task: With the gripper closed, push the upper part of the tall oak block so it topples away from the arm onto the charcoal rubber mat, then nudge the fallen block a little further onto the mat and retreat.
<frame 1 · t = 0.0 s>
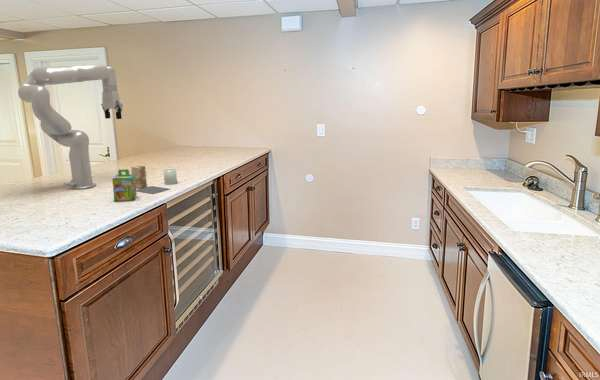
hand: (113, 118, 221), 37 cm above the countertop, tool pointing down, fingers open, 9 cm apart
block: (140, 187, 209), on the countertop
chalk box: (126, 199, 186), on the countertop
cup: (170, 183, 220), on the countertop
mat: (152, 190, 204), on the countertop
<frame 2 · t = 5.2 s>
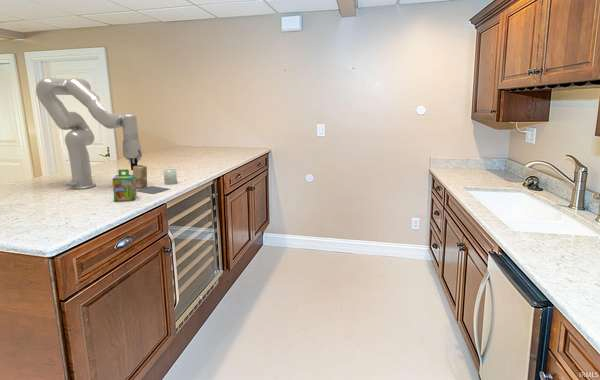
hand: (134, 169, 208), 10 cm above the countertop, tool pointing down, fingers closed
block: (140, 187, 209), on the countertop, tilted 6°
everything else where it was.
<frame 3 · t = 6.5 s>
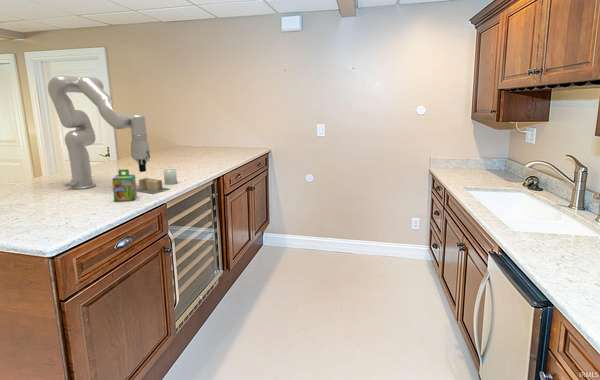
hand: (142, 171, 206), 10 cm above the countertop, tool pointing down, fingers closed
block: (142, 183, 207), point 3 cm above the countertop, tilted 90°, touching mat
everything else where it was.
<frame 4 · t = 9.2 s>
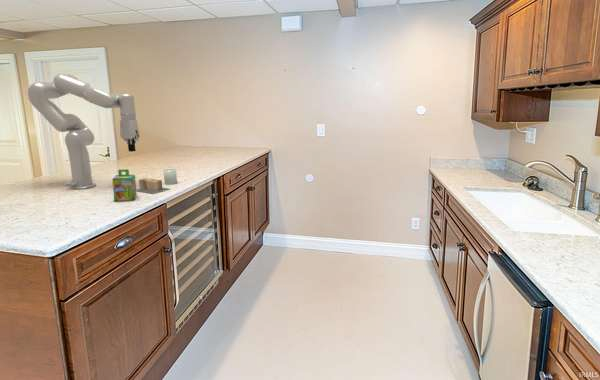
hand: (132, 151, 206), 20 cm above the countertop, tool pointing down, fingers closed
nothing on the countertop moved.
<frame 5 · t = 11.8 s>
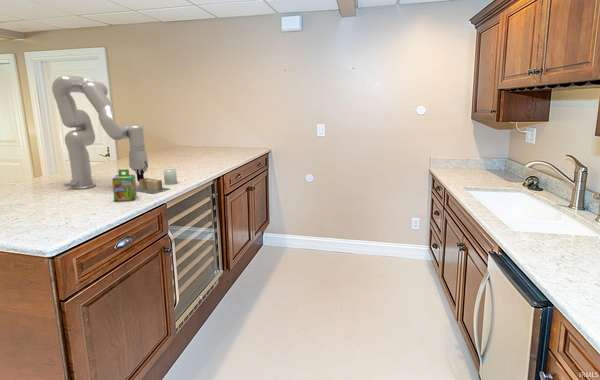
hand: (140, 181, 208), 4 cm above the countertop, tool pointing down, fingers closed
block: (142, 183, 207), point 3 cm above the countertop, tilted 90°, touching gripper
everything else where it was.
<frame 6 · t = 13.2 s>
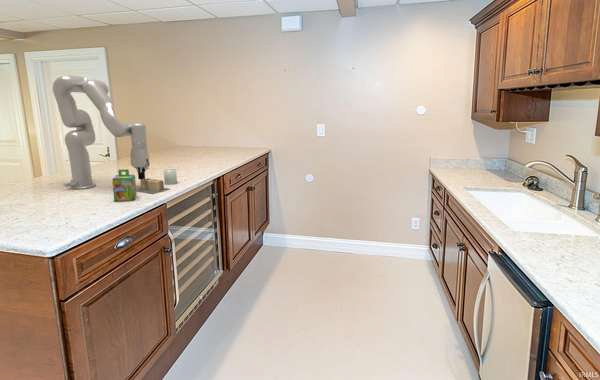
hand: (141, 178, 207), 5 cm above the countertop, tool pointing down, fingers closed
block: (144, 183, 207), point 3 cm above the countertop, tilted 90°, touching mat
everything else where it was.
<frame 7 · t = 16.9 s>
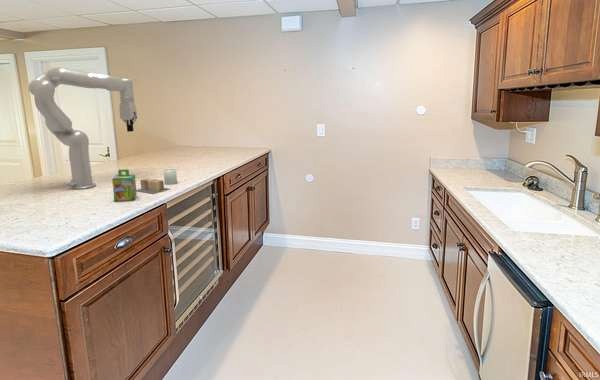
hand: (130, 131, 226), 29 cm above the countertop, tool pointing down, fingers closed
nothing on the countertop moved.
at the end: block tilted 90°; block 6.9 cm from the mat (horizontally) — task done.
